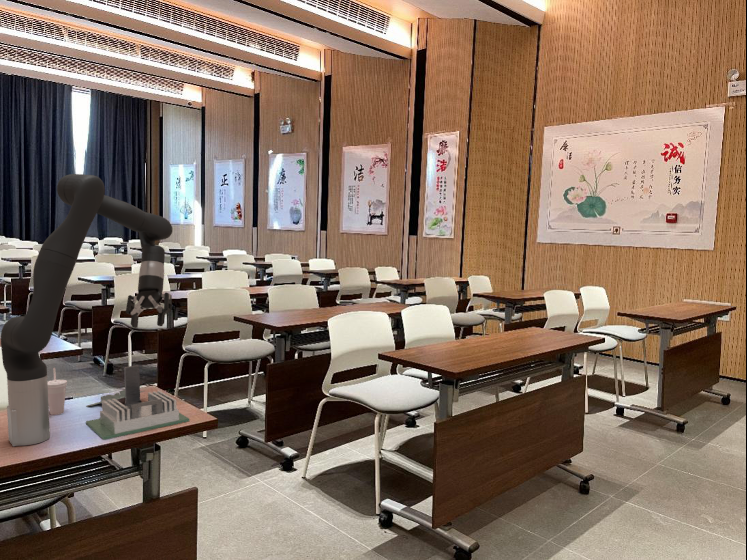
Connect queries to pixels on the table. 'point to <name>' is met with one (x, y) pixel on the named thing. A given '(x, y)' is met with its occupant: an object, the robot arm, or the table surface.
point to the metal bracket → (111, 397)
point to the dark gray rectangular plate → (132, 385)
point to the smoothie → (56, 395)
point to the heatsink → (136, 416)
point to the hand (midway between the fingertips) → (147, 326)
